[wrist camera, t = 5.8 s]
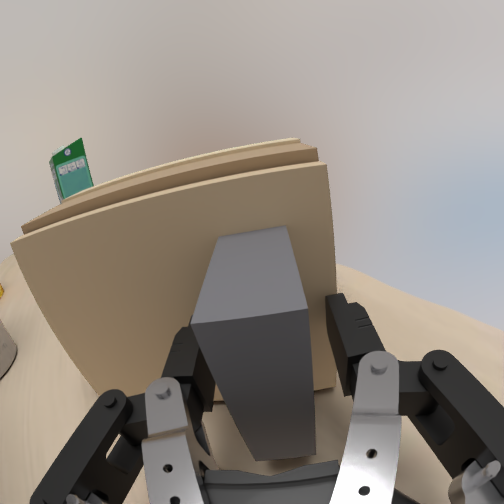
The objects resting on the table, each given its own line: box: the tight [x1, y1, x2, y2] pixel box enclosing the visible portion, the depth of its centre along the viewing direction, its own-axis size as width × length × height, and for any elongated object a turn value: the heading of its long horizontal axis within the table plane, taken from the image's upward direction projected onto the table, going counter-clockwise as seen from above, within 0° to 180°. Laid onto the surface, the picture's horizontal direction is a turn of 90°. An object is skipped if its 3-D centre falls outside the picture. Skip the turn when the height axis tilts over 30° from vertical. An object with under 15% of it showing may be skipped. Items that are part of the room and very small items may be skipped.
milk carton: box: [49, 138, 94, 204], centre depth 60 cm, size 9×9×25 cm
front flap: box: [10, 161, 337, 461], centre depth 10 cm, size 16×6×12 cm, turn 89°
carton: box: [21, 138, 319, 235], centre depth 19 cm, size 16×12×13 cm
